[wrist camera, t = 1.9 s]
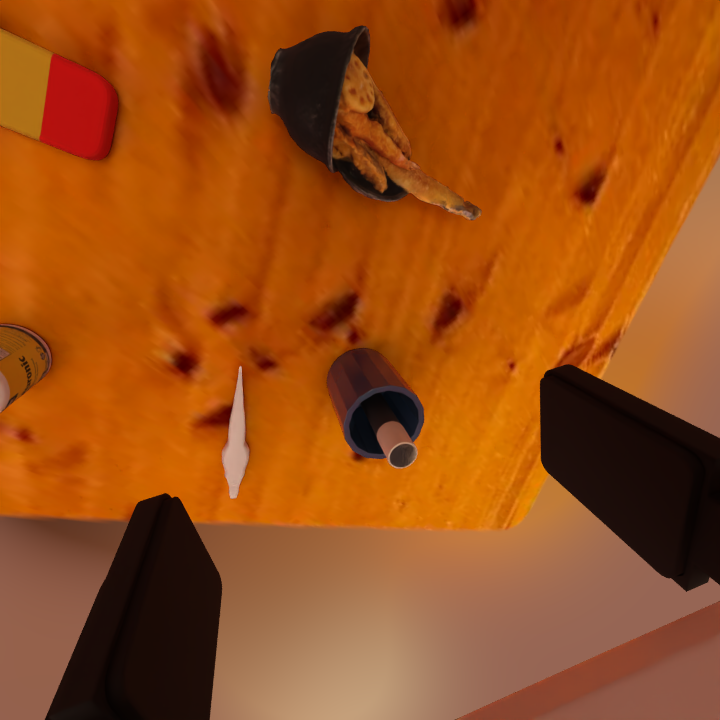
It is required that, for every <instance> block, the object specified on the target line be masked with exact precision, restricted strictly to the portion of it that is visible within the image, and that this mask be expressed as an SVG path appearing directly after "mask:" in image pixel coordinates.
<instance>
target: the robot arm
mask: <svg viewBox="0 0 720 720" xmlns="http://www.w3.org/2000/svg"><path fill="white" fill-rule="evenodd" d="M540 424H541V461H542V464H543V466H544V468H545V470H546V471H547V472H548V473H549V474H550V475H551V476H552V477H553V478H554V479H556V480H557V481H558V482H559V483H560V484H561V485H562V486H563V487H564V488H566V489H567V490H568V491H569V492H570V493H571V494H572V495H573V496H574V497H576V498H577V499H578V500H579V501H580V502H581V503H582V504H583V505H584V506H585V507H586V508H588V509H589V510H590V511H591V512H592V513H593V514H594V515H595V516H596V517H597V518H599V519H600V520H601V521H602V522H603V523H604V524H606V526H607V527H609V528H610V529H611V530H612V531H613V532H614V533H615V534H616V535H617V536H618V537H619V538H621V539H622V540H623V541H624V542H625V543H626V544H627V545H628V546H629V547H631V548H632V549H633V550H634V551H635V552H636V553H637V554H638V555H639V556H640V557H642V558H643V559H644V560H645V561H646V562H647V563H648V564H649V565H650V566H652V567H653V568H654V569H655V570H656V571H657V572H658V573H659V574H661V575H662V576H664V577H666V578H672V579H673V580H674V581H675V582H676V583H677V584H679V585H680V586H681V587H682V588H683V589H684V590H685V591H686V592H687V591H689V590H691V589H693V588H696V587H698V586H700V585H703V584H705V583H707V582H708V580H709V577H711V578H712V579H713V580H714V581H715V582H717V583H718V584H719V585H720V438H718V437H716V436H714V435H712V434H710V433H708V432H706V431H704V430H702V429H700V428H698V427H696V426H694V425H692V424H690V423H688V422H686V421H684V420H682V419H680V418H678V417H676V416H674V415H672V414H670V413H668V412H666V411H664V410H662V409H659V408H657V407H656V406H653V405H652V404H649V403H648V402H646V401H643V400H641V399H639V398H637V397H635V396H633V395H631V394H629V393H627V392H625V391H623V390H621V389H619V388H617V387H615V386H613V385H611V384H609V383H607V382H605V381H603V380H601V379H599V378H597V377H595V376H593V375H591V374H589V373H587V372H585V371H583V370H581V369H579V368H577V367H575V366H573V365H569V364H568V365H563V366H560V367H557V368H554V369H551V370H548V371H547V372H545V374H544V378H542V379H541V381H540ZM221 596H222V582H221V578H220V575H219V572H218V571H217V569H216V567H215V565H214V563H213V561H212V559H211V557H210V555H209V553H208V552H207V550H206V548H205V546H204V544H203V542H202V540H201V538H200V536H199V534H198V532H197V531H196V529H195V527H194V525H193V523H192V521H191V519H190V517H189V515H188V513H187V511H186V510H185V508H184V506H183V504H182V502H181V500H180V499H179V498H178V497H173V498H171V497H170V495H168V494H166V493H164V494H161V495H158V496H155V497H152V498H149V499H146V500H143V501H140V502H138V504H137V505H136V507H135V509H134V512H133V514H132V517H131V519H130V521H129V524H128V526H127V529H126V531H125V533H124V536H123V539H122V541H121V543H120V546H119V548H118V550H117V553H116V555H115V558H114V560H113V562H112V565H111V567H110V570H109V572H108V575H107V577H106V579H105V580H104V582H103V584H102V586H101V588H100V590H99V592H98V594H97V597H96V599H95V602H94V604H93V606H92V609H91V611H90V613H89V616H88V618H87V621H86V623H85V626H84V628H83V630H82V633H81V635H80V637H79V640H78V642H77V644H76V647H75V649H74V652H73V654H72V656H71V659H70V661H69V663H68V666H67V668H66V671H65V673H64V675H63V678H62V680H61V683H60V685H59V687H58V690H57V692H56V695H55V697H54V699H53V702H52V704H51V706H50V709H49V711H48V713H47V716H46V718H45V720H210V710H211V700H212V689H213V678H214V669H215V659H216V648H217V638H218V627H219V617H220V607H221ZM455 720H720V601H719V602H717V603H714V604H712V605H710V606H708V607H705V608H703V609H701V610H698V611H696V612H694V613H692V614H689V615H687V616H685V617H683V618H680V619H678V620H676V621H674V622H671V623H669V624H667V625H665V626H662V627H660V628H658V629H656V630H654V631H651V632H649V633H647V634H644V635H642V636H640V637H638V638H636V639H633V640H631V641H629V642H627V643H624V644H622V645H620V646H617V647H615V648H613V649H611V650H608V651H607V652H604V653H602V654H600V655H598V656H595V657H593V658H591V659H588V660H586V661H584V662H582V663H580V664H577V665H575V666H573V667H571V668H568V669H566V670H564V671H562V672H560V673H557V674H555V675H553V676H551V677H548V678H546V679H544V680H542V681H540V682H537V683H535V684H533V685H531V686H528V687H526V688H524V689H522V690H520V691H518V692H515V693H513V694H511V695H509V696H506V697H504V698H502V699H500V700H497V701H495V702H493V703H491V704H489V705H486V706H484V707H482V708H480V709H478V710H476V711H473V712H471V713H469V714H467V715H464V716H462V717H460V718H458V719H455Z"/></svg>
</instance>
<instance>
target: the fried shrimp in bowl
mask: <svg viewBox="0 0 720 720" xmlns="http://www.w3.org/2000/svg"><path fill="white" fill-rule="evenodd" d="M369 52H370V34H369V29H368V28H367V27H366V26H358V27H355V28H354V29H353V30H351V31H350V32H345V33H343V32H336V31H327V32H323V33H319V34H316V35H314V36H313V37H311V38H309V39H306V40H305V41H302V42H300V43H299V44H297V45H295V46H293V47H290V48H287V49H281V48H280V49H278V51H277V52H276V54H275V57H274V59H273V61H272V63H271V79H270V85H269V90H270V91H268V99H269V104H270V110H271V114H274V113H275V114H277V115H278V116H280V117H281V119H282V120H283V122H284V124H285V126H286V127H287V129H288V132H289V134H290V136H291V137H292V139H293V140H294V141H295V142H296V144H297V145H298V146H299V147H300V148H301V149H302V150H303V151H305V152H306V153H308V154H309V155H311V156H312V157H314V158H316V159H317V160H319V161H321V162H323V163H324V164H325V165H326V166H327V167H328V169H329V170H330V172H332V173H335V172H337V171H339V172H340V173H341V174H342V176H343V178H344V180H345V181H346V182H347V183H348V184H349V185H350V186H351V187H352V188H353V190H355V191H356V192H358V193H361V194H363V195H364V196H366V197H368V198H371V199H376V200H381V201H386V202H391V201H398V200H399V199H401V198H403V197H405V196H406V195H407V194H409V193H412V194H413V195H414V196H415V197H417V198H418V199H420V200H421V201H424V202H427V203H430V204H434V205H438V206H440V207H441V208H443V209H444V210H446V211H448V212H451V213H454V214H457V215H462V216H464V217H465V219H467V220H475V219H476V218H477V217H479V216H480V215H481V209H479V208H478V207H477V206H475V205H473V204H471V203H470V202H469V201H466V202H464V200H463V198H462V197H460V196H459V195H457V194H456V193H454V192H453V191H451V190H450V189H449V188H448V187H446V186H444V185H442V184H441V183H439V182H437V181H436V180H435V179H433V178H431V177H430V176H427V175H426V174H424V173H423V172H422V171H421V170H420V166H419V165H418V164H416V163H414V162H411V161H409V160H410V157H411V147H410V143H409V140H408V139H407V137H406V136H405V134H404V132H403V131H402V129H401V127H400V125H399V124H398V122H397V120H396V118H395V116H394V114H393V112H392V111H391V108H390V106H389V104H388V102H387V101H386V99H385V98H384V96H383V94H382V92H381V91H380V90H379V89H378V88H377V87H376V85H375V83H374V81H373V79H372V78H371V76H370V74H369V72H368V70H367V65H368V57H369Z"/></svg>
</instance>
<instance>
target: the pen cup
mask: <svg viewBox="0 0 720 720" xmlns="http://www.w3.org/2000/svg"><path fill="white" fill-rule="evenodd" d="M327 388H328V392H329V396H330V399H331V401H332V404H333V407H334V410H335V412H336V415H337V418H338V421H339V424H340V426H341V429H342V432H343V435H344V437H345V440H346V442H347V443H348V444H349V446H350V447H351V449H352V450H353V451H354V452H356V453H358V454H360V455H362V456H364V457H366V458H375V459H383V458H386V456H385V454H384V452H383V450H382V448H381V446H380V444H379V442H378V440H377V436H376V434H375V432H374V430H373V428H372V426H371V424H370V422H369V420H368V418H367V416H366V414H365V412H364V410H363V408H362V406H361V404H360V403H361V402H362V401H364V400H365V399H367V398H369V397H370V396H372V395H373V394H376V393H380V392H381V394H382V396H383V397H384V399H385V400H386V402H387V403H388V405H389V407H390V408H391V410H392V411H393V413H394V414H395V416H396V418H397V419H398V421H399V422H400V424H401V425H402V426H403V427H404V429H405V431H406V432H407V434H408V435H409V437H410V438H411V440H412V442H414V441H415V439H416V438H417V437H418V436H419V434H420V431H421V428H422V426H423V423H424V409H423V406H422V404H421V402H420V400H419V399H418V397H417V395H416V394H415V393H414V392H413V390H412V389H411V388H410V387H409V386H408V384H407V383H406V382H405V381H404V379H403V378H402V377H401V376H400V374H399V373H398V372H397V371H396V370H395V368H394V367H393V366H392V365H391V363H390V362H389V361H388V360H387V359H386V358H385V357H384V356H383V355H382V354H380V353H379V352H377V351H375V350H372V349H366V348H359V349H354V350H351V351H348V352H346V353H344V354H343V355H341V356H340V357H339V358H338V359H337V360H336V361H335V362H334V363H333V365H332V366H331V368H330V370H329V373H328V376H327Z"/></svg>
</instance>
